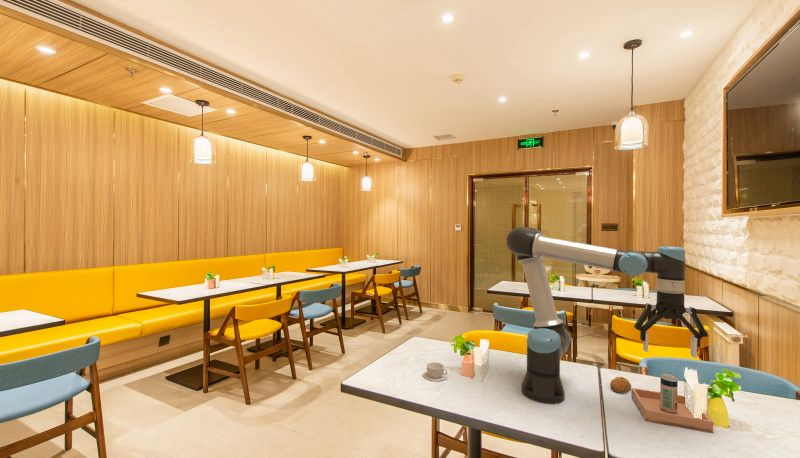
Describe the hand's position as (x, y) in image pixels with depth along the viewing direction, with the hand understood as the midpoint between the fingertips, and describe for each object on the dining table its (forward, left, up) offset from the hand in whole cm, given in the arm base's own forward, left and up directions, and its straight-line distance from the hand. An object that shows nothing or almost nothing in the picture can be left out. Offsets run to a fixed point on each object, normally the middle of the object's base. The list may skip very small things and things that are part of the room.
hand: (669, 353), depth 119 cm
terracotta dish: (0, 0, -21) cm, 21 cm away
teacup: (-82, -3, -21) cm, 84 cm away
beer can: (0, 0, -20) cm, 20 cm away
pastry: (-11, +15, -21) cm, 28 cm away
